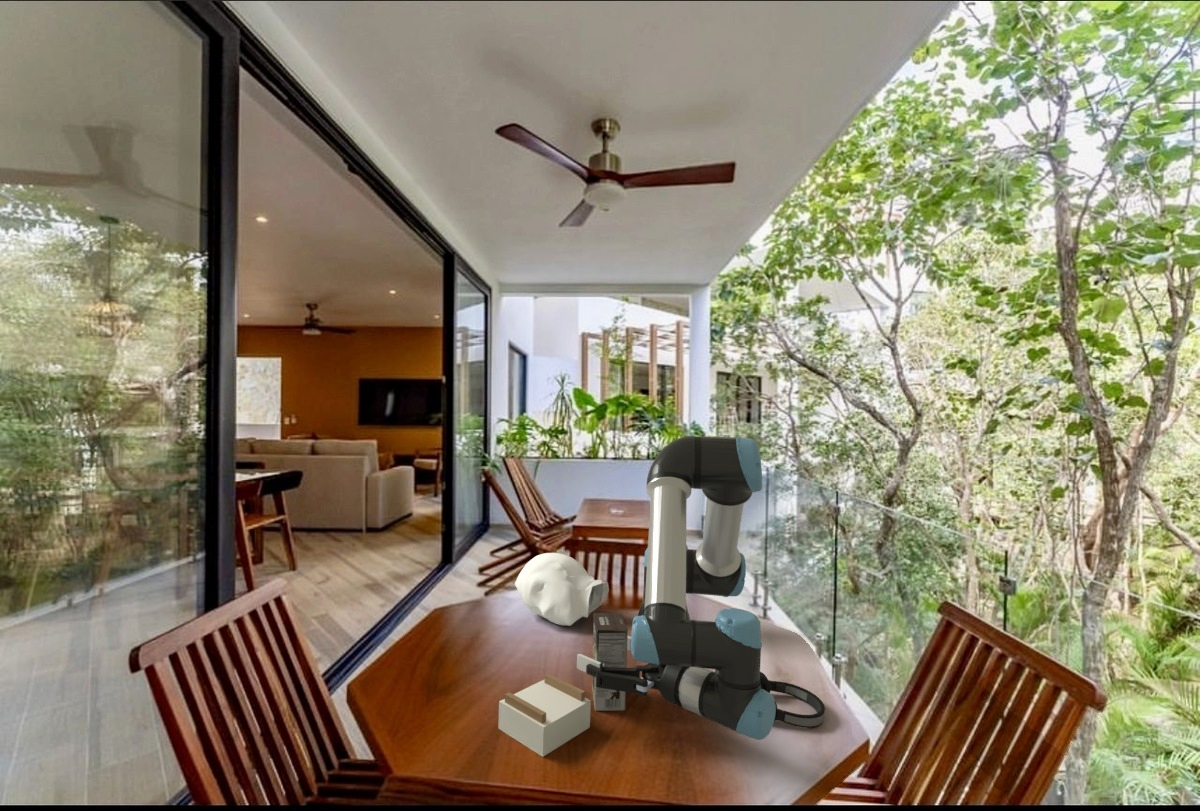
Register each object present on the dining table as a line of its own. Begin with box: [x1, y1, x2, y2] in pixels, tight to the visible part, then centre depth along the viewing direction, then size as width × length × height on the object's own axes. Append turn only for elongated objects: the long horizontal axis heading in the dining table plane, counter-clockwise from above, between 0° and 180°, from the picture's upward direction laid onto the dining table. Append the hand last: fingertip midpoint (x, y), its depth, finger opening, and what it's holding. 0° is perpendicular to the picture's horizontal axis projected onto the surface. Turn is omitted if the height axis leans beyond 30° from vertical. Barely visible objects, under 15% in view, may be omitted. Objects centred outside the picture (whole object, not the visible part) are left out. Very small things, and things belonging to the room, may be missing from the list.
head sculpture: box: [514, 552, 610, 627], centre depth 154 cm, size 18×20×25 cm
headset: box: [760, 671, 826, 729], centre depth 109 cm, size 13×9×19 cm
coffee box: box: [591, 612, 629, 712], centre depth 111 cm, size 9×6×16 cm
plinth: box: [497, 673, 591, 758], centre depth 100 cm, size 12×12×6 cm
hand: (600, 650), depth 112 cm, fingers open, 13 cm apart
